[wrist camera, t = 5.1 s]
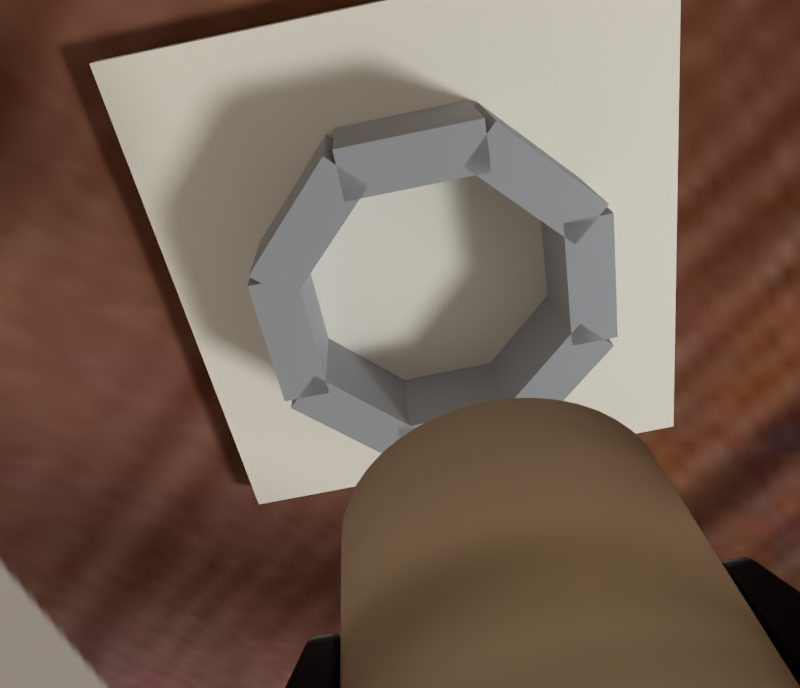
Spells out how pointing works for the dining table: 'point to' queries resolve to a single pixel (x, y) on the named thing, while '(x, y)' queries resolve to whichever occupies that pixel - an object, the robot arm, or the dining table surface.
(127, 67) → the socket board
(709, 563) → the rotary grip knob
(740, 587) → the robot arm
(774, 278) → the dining table surface
